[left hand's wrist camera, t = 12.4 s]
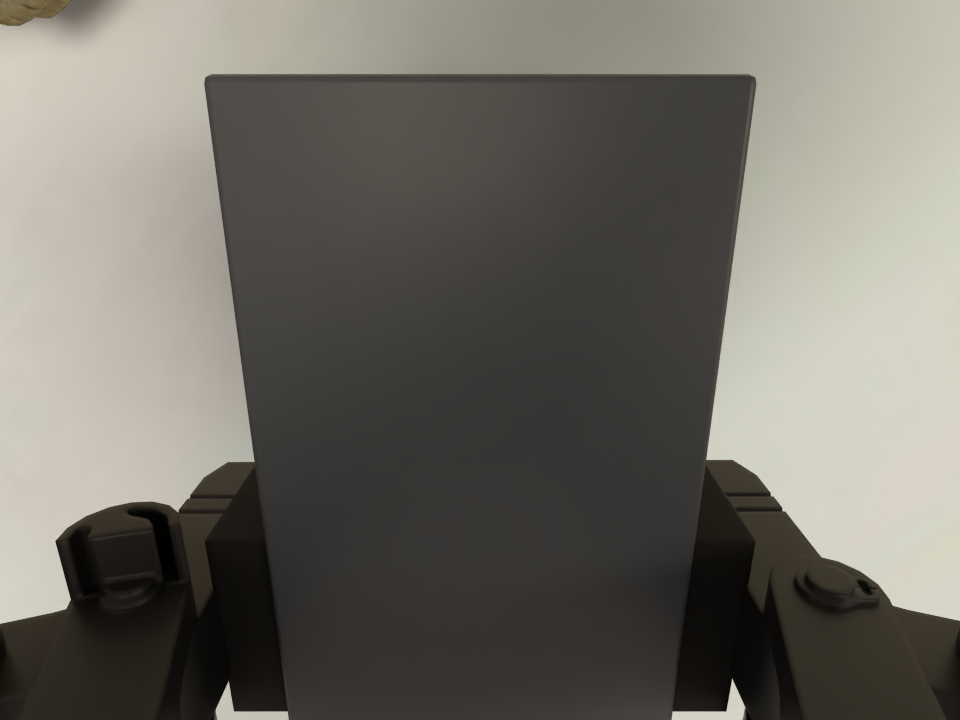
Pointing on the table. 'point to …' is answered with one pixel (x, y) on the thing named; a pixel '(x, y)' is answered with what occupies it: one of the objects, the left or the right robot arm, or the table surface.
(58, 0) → the sculpture
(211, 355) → the table surface
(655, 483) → the bar
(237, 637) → the left robot arm
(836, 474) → the table surface
